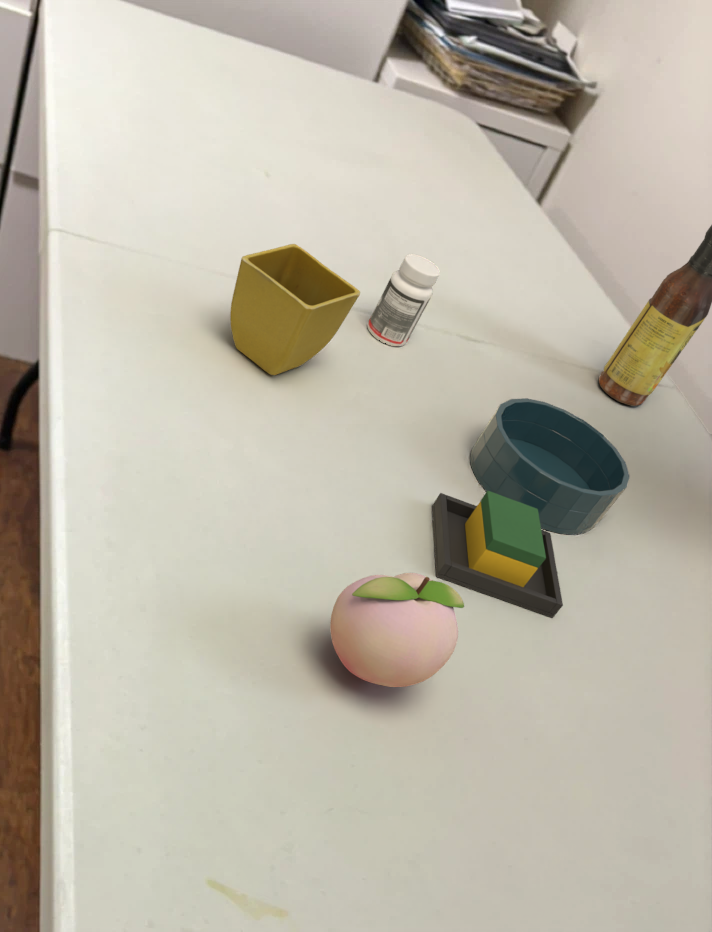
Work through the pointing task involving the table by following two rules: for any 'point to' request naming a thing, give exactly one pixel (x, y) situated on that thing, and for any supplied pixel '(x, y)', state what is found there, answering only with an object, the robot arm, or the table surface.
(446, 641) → the decorative fruit
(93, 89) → the table surface
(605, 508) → the bowl
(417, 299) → the pill bottle
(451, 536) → the sponge tray
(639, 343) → the sauce bottle
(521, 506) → the sponge
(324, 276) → the flower pot
